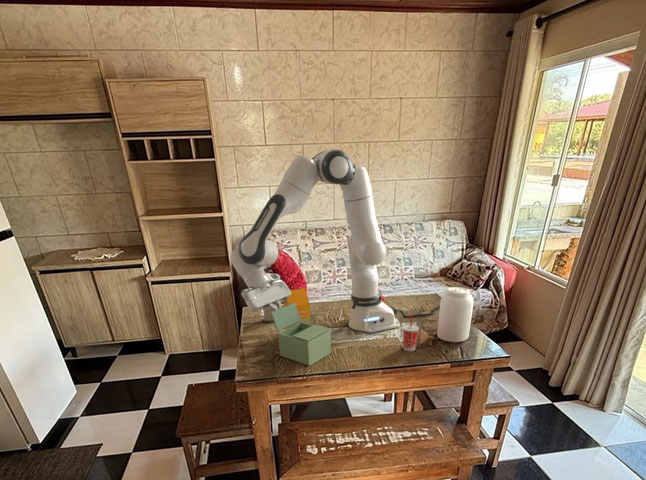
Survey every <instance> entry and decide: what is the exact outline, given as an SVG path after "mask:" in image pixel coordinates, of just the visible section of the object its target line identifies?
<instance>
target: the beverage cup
mask: <svg viewBox="0 0 646 480" xmlns="http://www.w3.org/2000/svg"><path fill="white" fill-rule="evenodd" d="M412 315H413V314H410V316H411V317H410V322H409V324H408V323H407V324H404V325H403V326H402V331H403V332H402V333H403V334H402V335H403V337H402V338H403V340H402V341H403V342H402V346H403V347H402V348H403V350H404V351H405V352H414V351H415V350H416V348H417V341H418V333H419V331H420V327H419V326H418V325H417V324H413V317H412Z"/></svg>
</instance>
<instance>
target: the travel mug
mask: <svg viewBox="0 0 646 480" xmlns="http://www.w3.org/2000/svg"><path fill="white" fill-rule="evenodd" d="M273 306H274V307H275V308H277V306H275V305H274V304H273ZM262 310H263V311H262V314H263V320H264V322H266V323H274V320H273V317H272V315H271V312H273V311H271V310H270V309H269V308H268V307H266V308H263V309H262Z"/></svg>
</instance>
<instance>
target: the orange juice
mask: <svg viewBox="0 0 646 480" xmlns="http://www.w3.org/2000/svg"><path fill="white" fill-rule="evenodd" d="M290 291H291V295H290V296H289V297H287V299H286V300H283V307H285V306H288V305H290V304H292V303H295V304H296V307H297V310H298V313H299V316H300V319H301V321H299V322H296V323H294V324H292V325H290V326H288V327H286V328H285V329H287V328H289V327H292V326H294V325H296V324H298V323H300V322H302V323H306V324H309V325H312V324H311V320H312V319H311V306H310V304H311V303H310V301H309V297H308V294H307V293H308V292H307V289H306V287H302V288H298V289H297V288H296V289H290Z"/></svg>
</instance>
